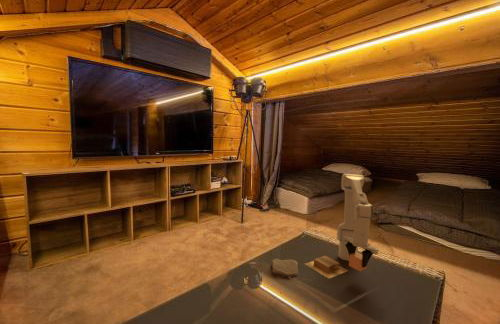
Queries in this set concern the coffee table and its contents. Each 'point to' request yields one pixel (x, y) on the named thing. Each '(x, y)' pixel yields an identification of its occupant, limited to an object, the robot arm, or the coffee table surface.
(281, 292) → the coffee table surface
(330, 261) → the walnut slab
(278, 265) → the stone block
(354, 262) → the terracotta cube
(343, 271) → the plate
